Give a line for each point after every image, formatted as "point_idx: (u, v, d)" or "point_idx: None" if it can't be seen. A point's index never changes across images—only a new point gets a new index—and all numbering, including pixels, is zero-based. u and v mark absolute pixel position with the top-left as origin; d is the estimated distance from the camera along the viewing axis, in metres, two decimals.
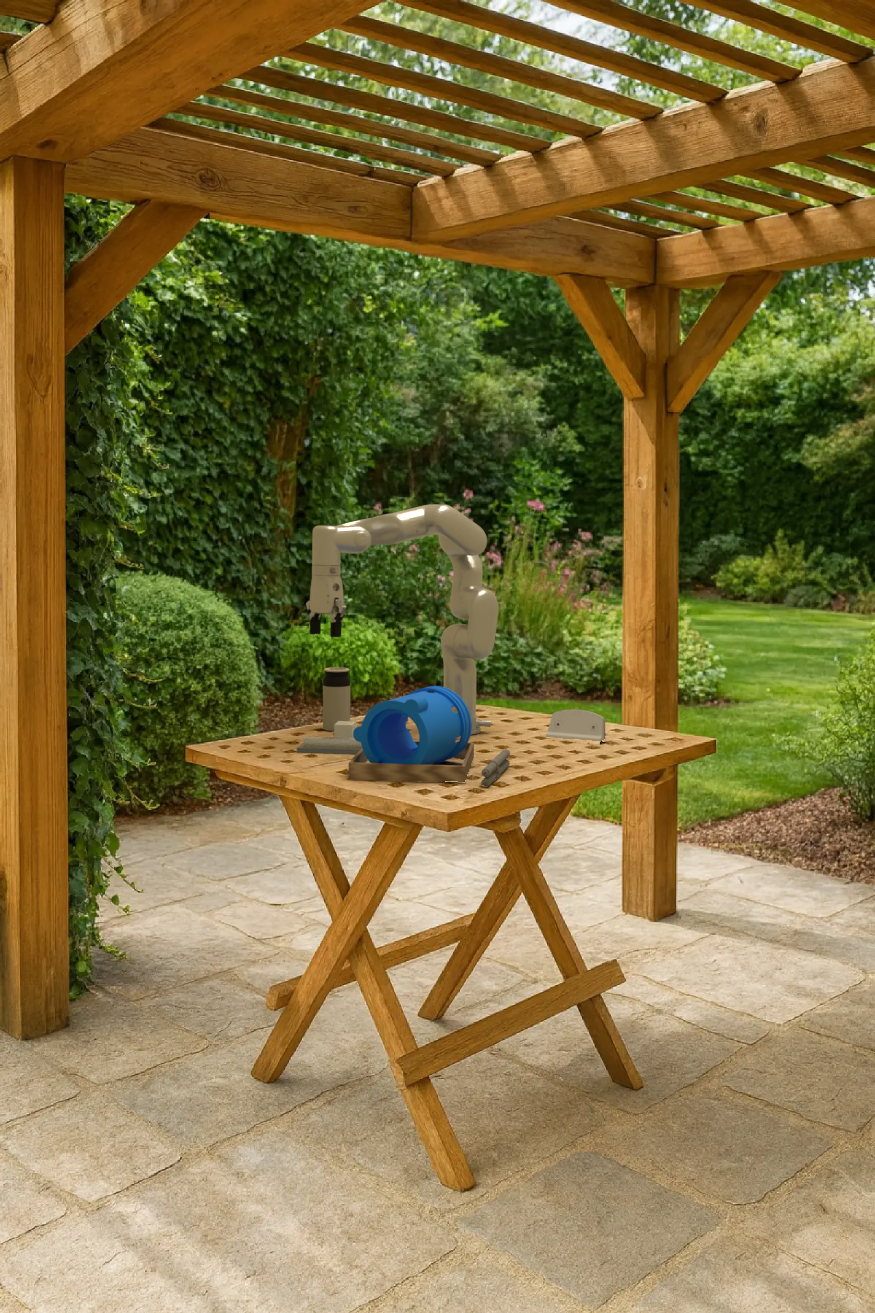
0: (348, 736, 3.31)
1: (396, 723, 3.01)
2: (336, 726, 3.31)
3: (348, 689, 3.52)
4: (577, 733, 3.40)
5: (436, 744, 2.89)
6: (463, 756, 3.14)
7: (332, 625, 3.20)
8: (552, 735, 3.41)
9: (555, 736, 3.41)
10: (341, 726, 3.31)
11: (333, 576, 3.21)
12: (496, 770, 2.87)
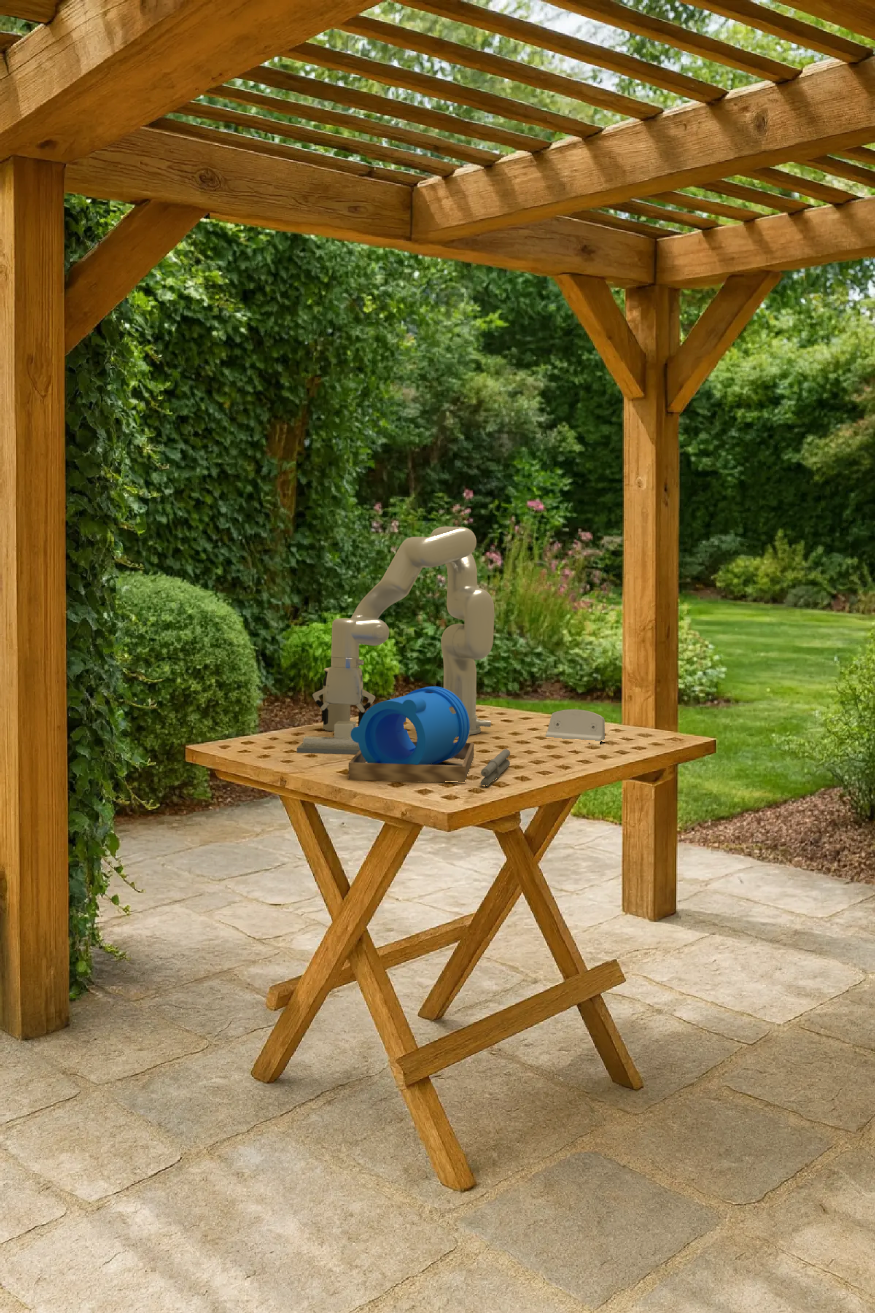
0: (348, 736, 3.31)
1: (394, 723, 3.00)
2: (336, 726, 3.31)
3: None
4: (577, 733, 3.40)
5: (434, 745, 2.88)
6: (463, 756, 3.14)
7: (361, 715, 3.32)
8: (552, 735, 3.41)
9: (555, 736, 3.41)
10: (341, 726, 3.31)
11: (357, 667, 3.32)
12: (496, 770, 2.87)
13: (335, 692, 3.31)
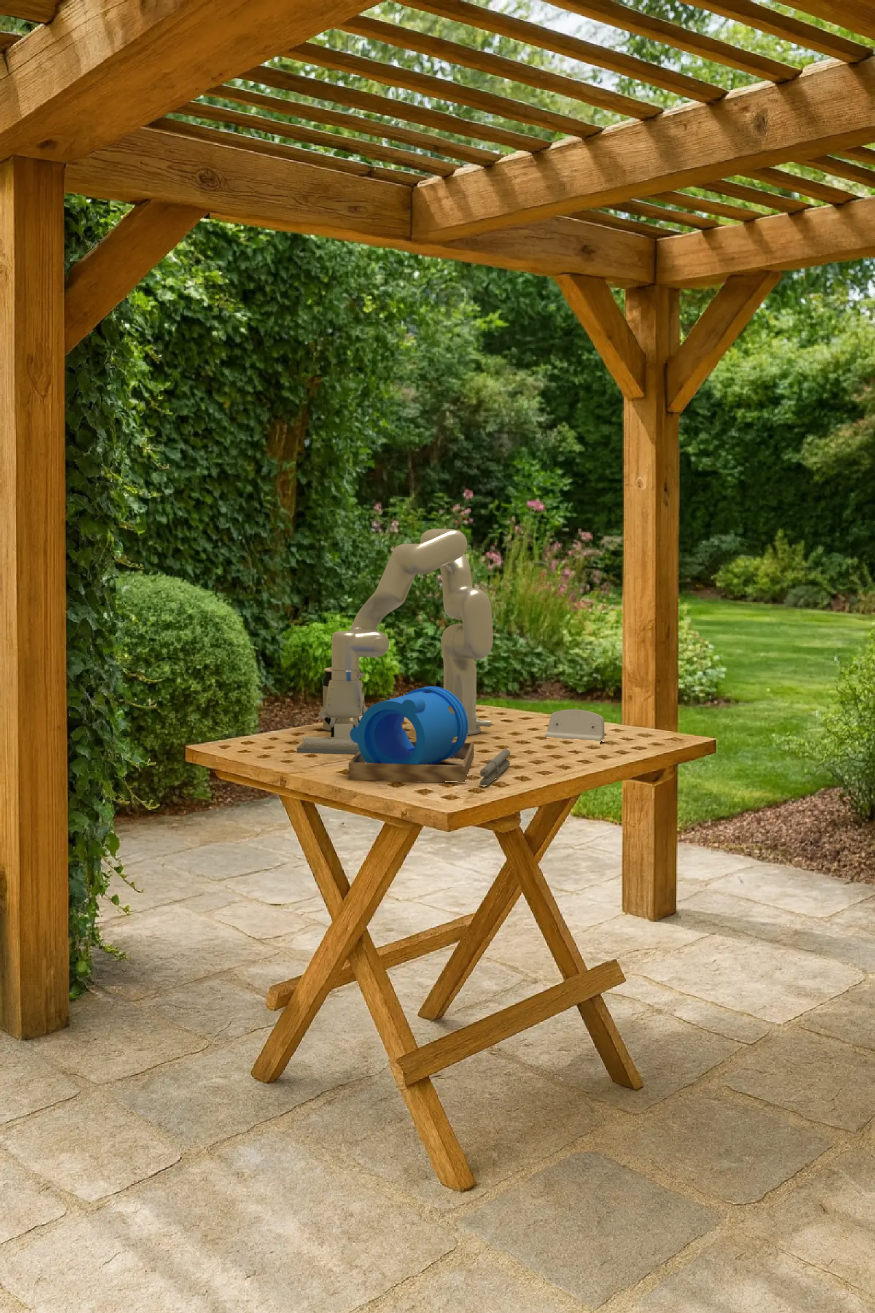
0: (348, 736, 3.31)
1: (393, 724, 3.00)
2: (336, 726, 3.31)
3: None
4: (576, 733, 3.40)
5: (433, 745, 2.88)
6: (463, 756, 3.14)
7: None
8: (551, 735, 3.41)
9: (554, 736, 3.41)
10: (341, 726, 3.31)
11: (358, 680, 3.32)
12: (495, 770, 2.87)
13: (336, 705, 3.32)
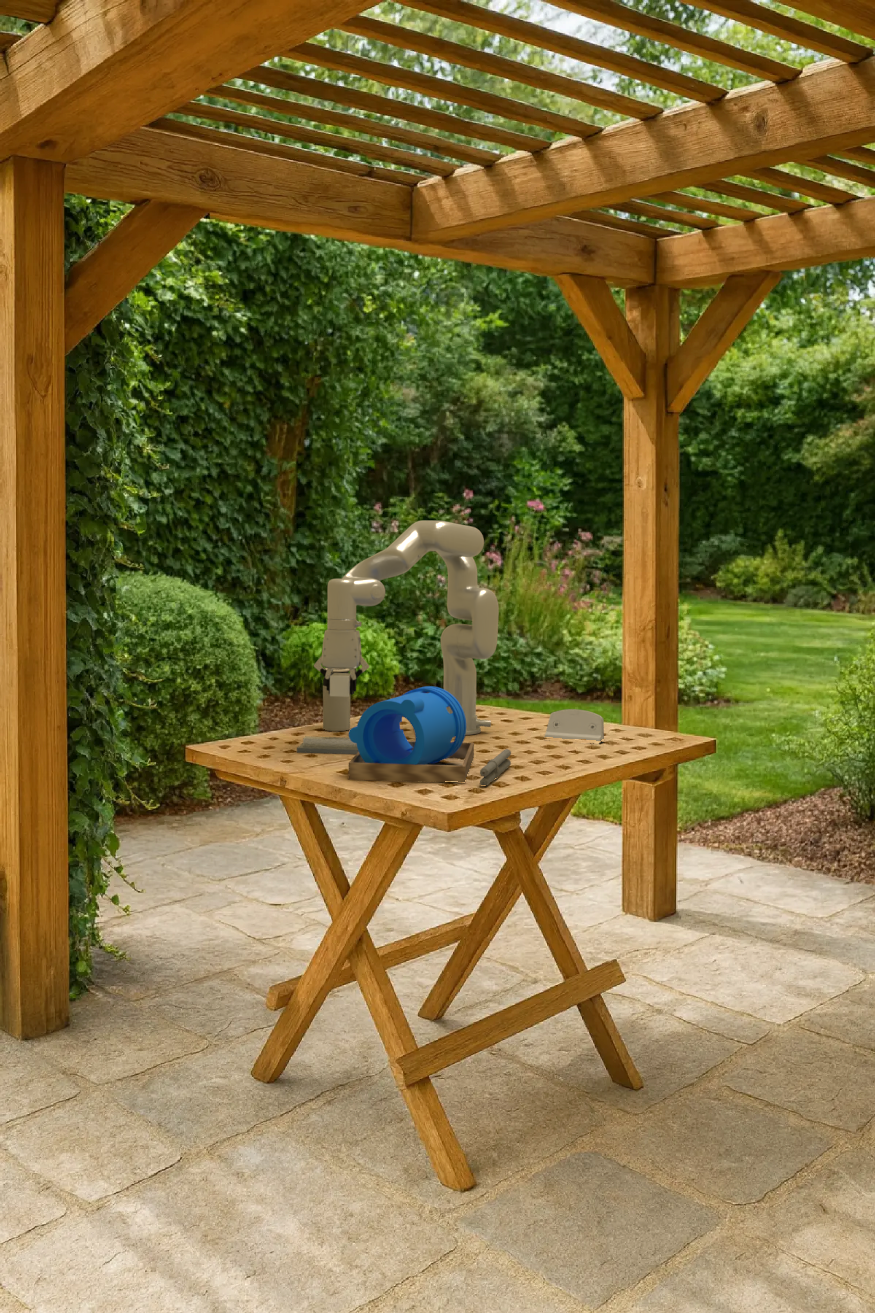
0: (344, 688, 3.18)
1: (391, 724, 3.00)
2: (332, 677, 3.18)
3: None
4: (576, 733, 3.40)
5: (432, 745, 2.88)
6: (463, 756, 3.14)
7: (352, 683, 3.19)
8: (551, 735, 3.41)
9: (554, 736, 3.41)
10: (337, 677, 3.18)
11: (355, 630, 3.19)
12: (495, 770, 2.87)
13: (332, 655, 3.18)
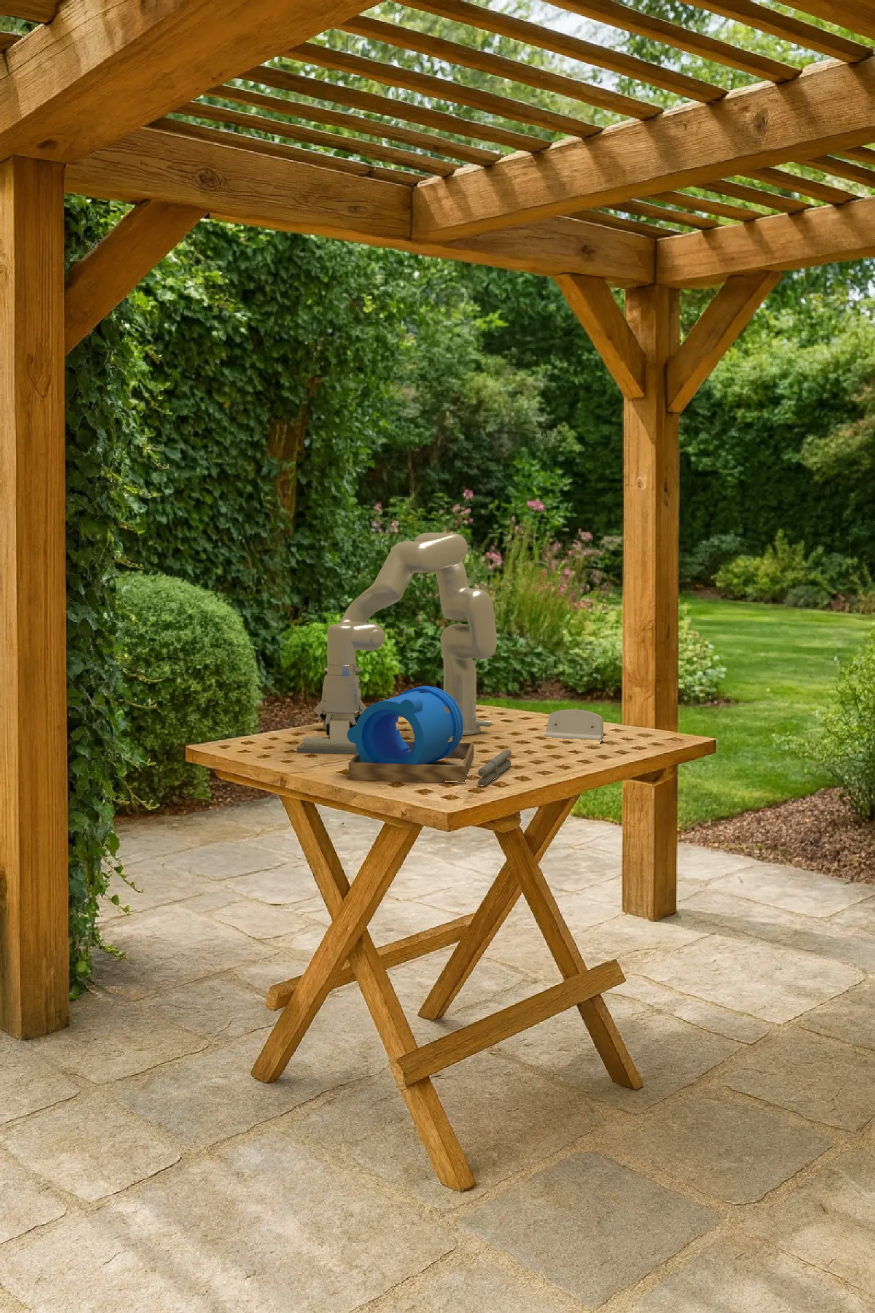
0: (344, 733, 3.19)
1: (388, 724, 2.99)
2: (331, 722, 3.19)
3: None
4: (576, 733, 3.40)
5: (431, 745, 2.88)
6: (463, 756, 3.14)
7: None
8: (551, 735, 3.41)
9: (554, 736, 3.41)
10: (337, 722, 3.19)
11: (354, 675, 3.20)
12: (494, 770, 2.87)
13: (332, 701, 3.19)
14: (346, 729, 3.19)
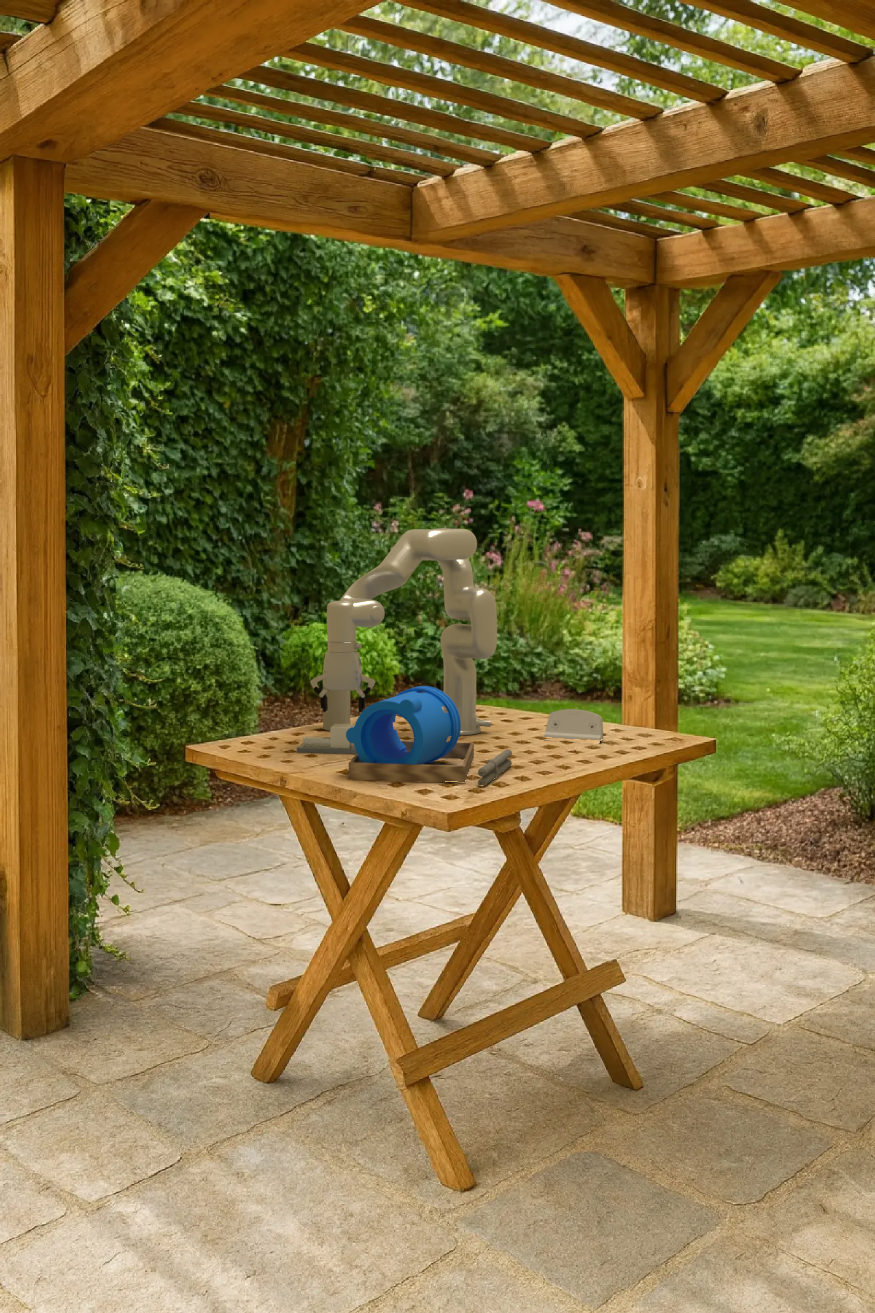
0: (345, 739, 3.19)
1: (387, 724, 2.99)
2: (332, 729, 3.19)
3: None
4: (575, 733, 3.40)
5: (430, 744, 2.88)
6: (463, 756, 3.14)
7: (361, 700, 3.20)
8: (550, 735, 3.41)
9: (553, 736, 3.41)
10: (338, 729, 3.19)
11: (355, 651, 3.20)
12: (494, 770, 2.87)
13: (333, 678, 3.19)
14: None
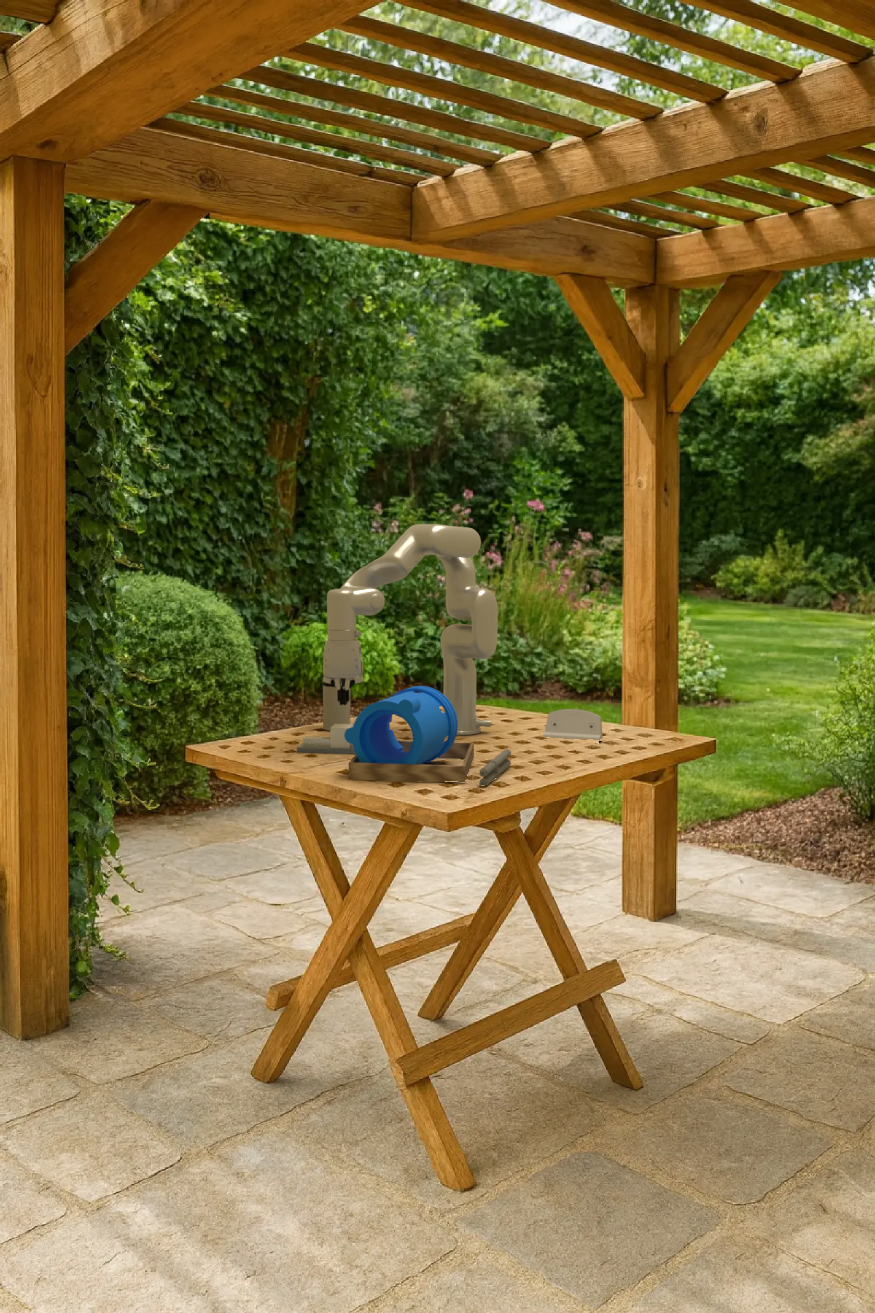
0: None
1: (384, 724, 2.99)
2: (332, 729, 3.19)
3: None
4: (575, 733, 3.40)
5: (429, 744, 2.88)
6: (463, 756, 3.14)
7: (345, 693, 3.20)
8: (550, 735, 3.41)
9: (553, 736, 3.41)
10: (338, 729, 3.19)
11: (355, 639, 3.19)
12: (495, 770, 2.87)
13: (333, 666, 3.19)
14: None
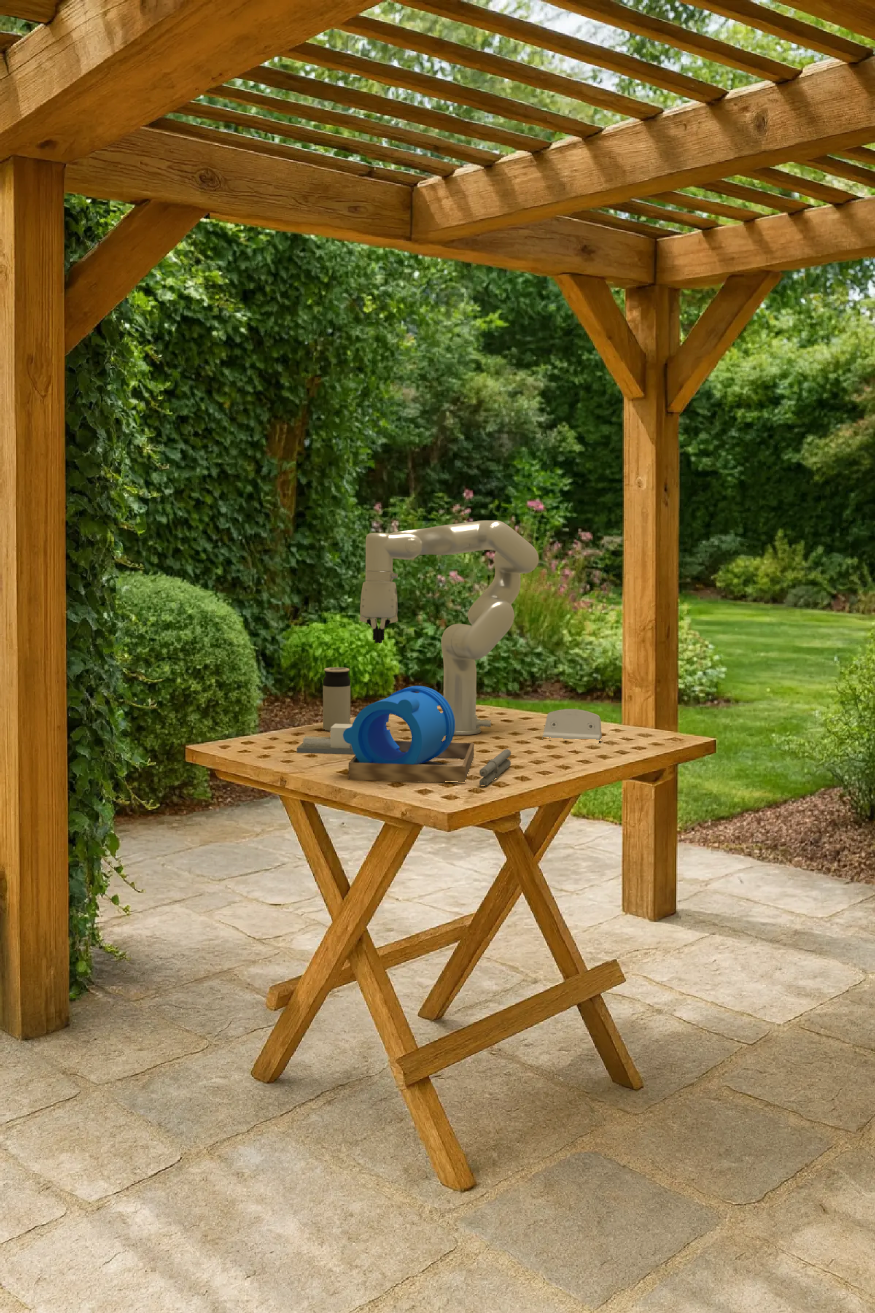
0: None
1: (382, 724, 2.99)
2: (332, 729, 3.19)
3: (348, 689, 3.52)
4: (574, 732, 3.40)
5: (428, 744, 2.88)
6: (463, 756, 3.14)
7: (380, 632, 3.37)
8: (549, 735, 3.41)
9: (552, 736, 3.40)
10: (338, 729, 3.19)
11: (391, 581, 3.37)
12: (495, 770, 2.87)
13: (370, 605, 3.36)
14: None
